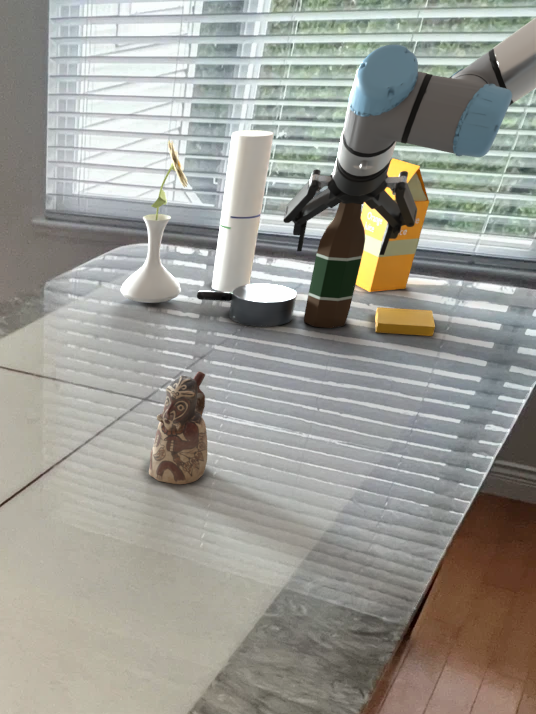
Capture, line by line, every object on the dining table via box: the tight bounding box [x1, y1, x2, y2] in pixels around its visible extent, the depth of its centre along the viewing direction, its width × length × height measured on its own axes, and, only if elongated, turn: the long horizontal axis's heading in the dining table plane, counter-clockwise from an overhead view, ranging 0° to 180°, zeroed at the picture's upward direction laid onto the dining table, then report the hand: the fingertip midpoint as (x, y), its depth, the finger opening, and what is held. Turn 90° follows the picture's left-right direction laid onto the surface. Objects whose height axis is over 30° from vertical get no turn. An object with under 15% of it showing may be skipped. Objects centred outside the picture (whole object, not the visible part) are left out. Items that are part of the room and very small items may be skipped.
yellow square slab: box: [374, 306, 436, 337], centre depth 145 cm, size 9×9×2 cm
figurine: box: [148, 370, 208, 485], centre depth 103 cm, size 7×7×12 cm
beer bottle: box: [303, 202, 365, 329], centre depth 140 cm, size 8×8×24 cm
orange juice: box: [355, 158, 430, 293], centre depth 157 cm, size 8×9×20 cm
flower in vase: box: [119, 139, 189, 304], centre depth 153 cm, size 13×11×25 cm
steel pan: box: [196, 283, 298, 328], centre depth 150 cm, size 17×11×4 cm, turn 72°
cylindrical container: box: [211, 129, 275, 293], centre depth 156 cm, size 7×7×25 cm
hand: (341, 245), depth 142 cm, fingers open, 12 cm apart
